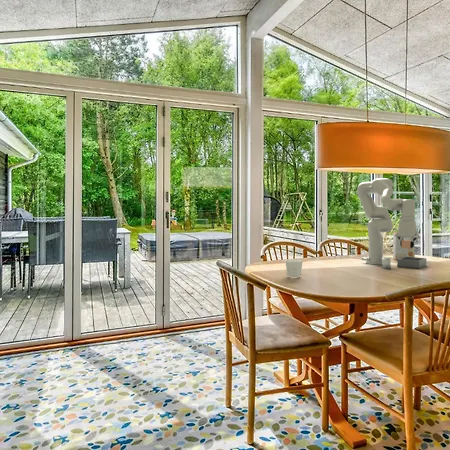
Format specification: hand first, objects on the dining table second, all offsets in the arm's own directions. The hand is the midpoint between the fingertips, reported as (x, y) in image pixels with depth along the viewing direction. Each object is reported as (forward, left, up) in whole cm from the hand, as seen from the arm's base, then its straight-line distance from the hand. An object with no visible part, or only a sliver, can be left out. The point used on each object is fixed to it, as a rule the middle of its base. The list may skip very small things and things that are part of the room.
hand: (406, 247), depth 238 cm
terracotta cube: (0, 0, -1) cm, 1 cm away
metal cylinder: (-11, +6, -15) cm, 20 cm away
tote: (+8, +19, -15) cm, 26 cm away
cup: (-70, -33, -15) cm, 79 cm away
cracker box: (+10, +49, -15) cm, 53 cm away
